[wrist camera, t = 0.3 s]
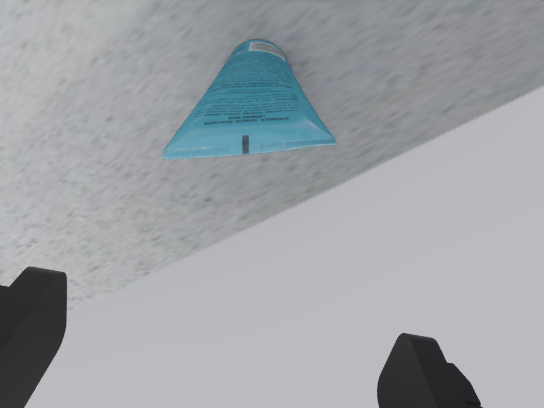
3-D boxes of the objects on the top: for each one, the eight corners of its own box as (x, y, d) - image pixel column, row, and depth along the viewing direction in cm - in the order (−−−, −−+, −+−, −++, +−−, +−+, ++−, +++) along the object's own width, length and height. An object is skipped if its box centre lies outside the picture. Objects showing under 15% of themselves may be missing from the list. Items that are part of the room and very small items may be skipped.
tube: (221, 106, 36) (177, 210, 19) (207, 47, 34) (144, 105, 17) (307, 91, 36) (341, 184, 19) (299, 30, 34) (329, 72, 17)
